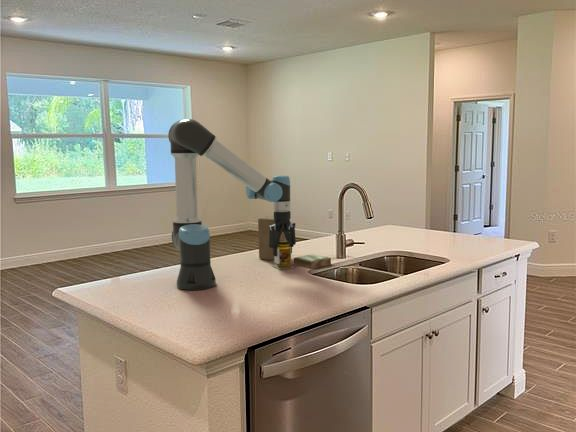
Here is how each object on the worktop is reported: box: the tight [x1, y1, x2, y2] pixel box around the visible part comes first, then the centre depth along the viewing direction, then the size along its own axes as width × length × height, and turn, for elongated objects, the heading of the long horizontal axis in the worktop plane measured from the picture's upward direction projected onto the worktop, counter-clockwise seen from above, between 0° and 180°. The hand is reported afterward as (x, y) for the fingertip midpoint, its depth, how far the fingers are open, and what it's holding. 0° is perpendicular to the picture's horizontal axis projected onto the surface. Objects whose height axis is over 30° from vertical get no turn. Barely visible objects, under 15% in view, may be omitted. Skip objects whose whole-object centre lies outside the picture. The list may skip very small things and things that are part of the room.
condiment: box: [273, 239, 295, 270], centre depth 229 cm, size 7×8×12 cm
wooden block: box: [257, 215, 286, 261], centre depth 247 cm, size 10×10×20 cm
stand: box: [293, 253, 332, 270], centre depth 234 cm, size 12×12×3 cm
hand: (282, 261), depth 230 cm, fingers closed on condiment, 6 cm apart
